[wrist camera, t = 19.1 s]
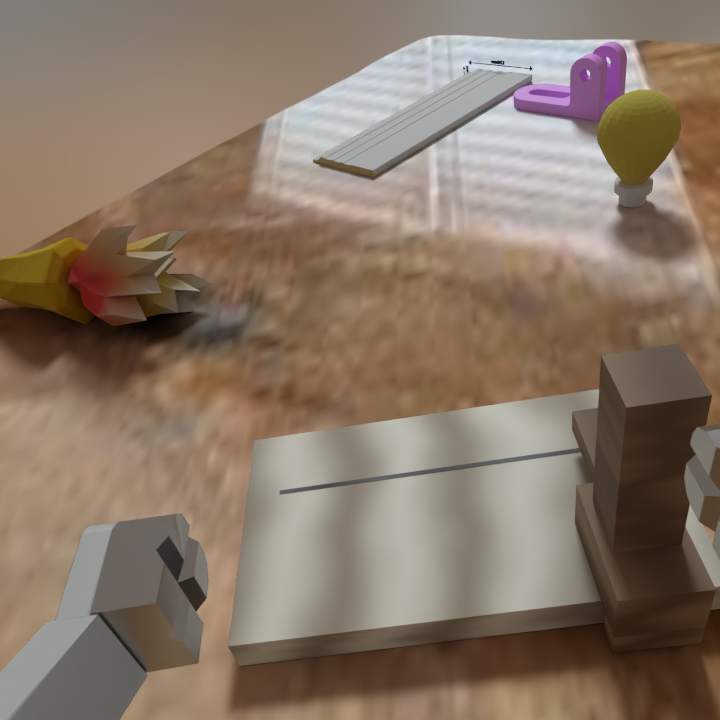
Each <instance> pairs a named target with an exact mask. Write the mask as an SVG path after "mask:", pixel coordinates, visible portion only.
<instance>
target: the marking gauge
mask: <svg viewBox="0 0 720 720" xmlns="http://www.w3.org/2000/svg"><path fill="white" fill-rule="evenodd" d="M711 398H712V394H711V393H710V391H709V390H708V388H707V387H706V385H705V384H704V382H703V380H702V379H701V377H700V376H699V374H698V373H697V371H696V370H695V368H694V366H693V365H692V363H691V362H690V360H689V359H688V357H687V356H686V354H685V353H684V351H683V349H682V348H681V346H680V345H679V344H675V345H669V346H662V347H656V348H649V349H642V350H636V351H629V352H623V353H616V354H610V355H603V356H601V367H600V384H599V401H598V408H593V409H586V410H579V411H572V431H573V433H574V436H575V438H576V441H577V444H578V446H579V449H580V452H581V454H582V457H583V459H584V462H585V465H586V467H587V470H588V472H589V475H590V478H591V480H592V483H588V484H581V485H576V504H575V525H576V528H577V531H578V533H579V536H580V539H581V542H582V545H583V548H584V551H585V554H586V557H587V560H588V563H589V566H590V569H591V572H592V575H593V578H594V581H595V584H596V587H597V590H598V593H599V596H600V599H601V602H602V605H603V608H604V611H605V621H604V631H605V634H606V637H607V640H608V643H609V646H610V649H611V652H612V653H618V652H627V651H636V650H644V649H653V648H662V647H671V646H680V645H689V644H697V643H702V639H703V636H704V632H705V629H706V625H707V621H708V618H709V614H710V610H711V607H712V603H713V600H714V596H715V592H716V588H715V586H714V584H713V582H712V580H711V578H710V576H709V574H708V572H707V570H706V568H705V566H704V564H703V562H702V559H701V557H700V555H699V553H698V551H697V549H696V547H695V545H694V543H693V541H692V539H691V537H690V535H689V533H688V531H687V529H686V527H685V526H686V521H687V516H688V511H689V506H690V502H689V499H688V497H687V493H686V487H685V480H684V476H685V469H686V463H687V462H688V461H689V460H690V459H692V458H693V457H694V456H695V455H696V453H695V452H694V450H693V448H692V447H691V445H690V442H691V438H692V433H693V432H694V431H695V429H696V428H697V427H701V426H706V422H707V417H708V413H709V408H710V403H711Z"/></svg>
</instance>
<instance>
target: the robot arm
mask: <svg viewBox="0 0 720 720" xmlns="http://www.w3.org/2000/svg"><path fill="white" fill-rule="evenodd" d="M690 445H691V447H692V448H693V450H694V452H695V453H696V455H695V456H694V457H693V458H692V459H690V460H689V461H688V462H687V463H686V469H685V476H684V480H685V487H686V493H687V497H688V499H689V502H690V505H691V508H692V510H693V512H694V513H695V515H696V517H697V519H698V521H699V522H700V523H702V524H703V525H705V526H707V527H708V528H710V529H711V530H713V531H715V536H714V540H713V544H712V547H713V549H714V550H715V552H716V554H717V556H718V558H719V560H720V423H718V424H712V425H707V426H701V427H697V428H696V429H695V431H694V432H693V433H692V438H691V442H690ZM188 532H189V524H188V523H187V521H186V519H185V518H184V516H183V515H182V514H173V515H166V516H158V517H151V518H144V519H137V520H129V521H122V522H116V523H109V524H103V525H96V526H90V527H88V528H87V529H86V530H85V532H84V533H83V534H82V536H81V538H80V541H79V544H78V548H77V551H76V554H75V557H74V560H73V564H72V567H71V570H70V573H69V576H68V580H67V583H66V586H65V589H64V592H63V596H62V599H61V602H60V605H59V608H58V612H57V615H56V618H55V621H50V622H46V623H45V624H44V625H43V626H42V627H41V628H40V629H39V630H38V631H37V632H36V634H35V635H34V636H33V637H32V638H31V639H30V640H29V641H28V642H27V643H26V645H25V646H24V647H23V648H22V649H21V650H20V651H19V652H18V653H17V654H16V655H15V657H14V658H13V659H12V660H11V661H10V662H9V663H8V664H7V665H6V666H5V668H4V669H3V670H2V671H1V672H0V720H120V718H121V717H122V715H123V714H124V712H125V710H126V709H127V707H128V706H129V704H130V703H131V701H132V699H133V698H134V696H135V695H136V693H137V691H138V690H139V688H140V687H141V685H142V684H143V682H144V680H145V679H146V677H147V674H146V673H147V672H152V671H158V670H164V669H169V668H175V667H181V666H186V665H192V664H198V661H199V653H200V646H201V638H202V631H203V622H202V621H201V619H200V617H199V616H198V614H197V613H196V611H197V610H198V609H199V607H200V606H201V605H202V603H203V602H204V601H205V599H206V598H207V590H208V568H207V561H206V558H205V554H204V551H203V549H202V547H201V545H200V544H199V542H198V541H196V540H193V539H191V538H189V537H188Z"/></svg>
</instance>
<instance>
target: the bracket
mask: <svg viewBox="0 0 720 720" xmlns="http://www.w3.org/2000/svg"><path fill="white" fill-rule="evenodd" d="M606 57H608V58H609V59H610V60H611V65H610V64H608V63H607V61H606ZM626 64H627V55H626V52H625V50H624V48H623V47H622V46H621V45H620V44H618V43H616V42H607V43H605V44H603V45H602V46H600V47H598V48H597V49H596V50H595V51H594V52H593V54H588V55H585V56H584V57H582V58H580V59H579V60H577V61H576V62H575V63H574V64H573V66H572V68H571V73H570V86H562V85H554V84H534V85H528V86H525V87H522V88H520V89H518V90H516V91H515V92H514V106H515V107H516V108H518V109H521V110H526V111H533V112H540V113H546V114H553V115H560V116H567V117H573V118H580V119H587V120H594V121H599V120H600V119H601V117H602V115H603V114H604V112H605V110H606V109H607V107H608V106H609V105H610V104H611V103H612V102H613V101H615V100H616V99H617V98H619V97H620V96H622V95H624V93H625V79H626ZM586 70H589V71H590V77H589V76H588V75H587V72H586Z"/></svg>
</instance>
